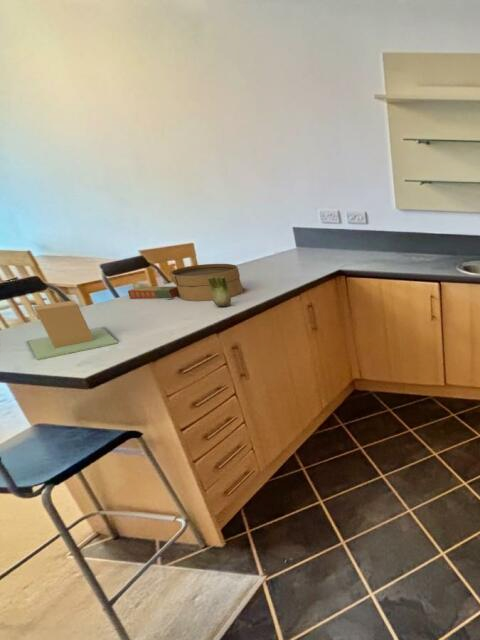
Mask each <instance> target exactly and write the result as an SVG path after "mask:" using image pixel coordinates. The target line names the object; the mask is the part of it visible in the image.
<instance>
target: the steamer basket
mask: <svg viewBox="0 0 480 640" xmlns="http://www.w3.org/2000/svg"><path fill="white" fill-rule="evenodd" d="M170 276H171V279H172V283H173V284H174V285H176V286H177V289H178V292H179V295H180V296H179V298H180V299H181V300H183V301H189V302H206V301H213V297H212V290H211V286H210V283H209V281H208V278H212V277H215V280H216V278H217V277H220V280H221V283H222V279H221V278H225V280H226V284H227V287H228V290H229V293H230V297H231V298H233V297H234V296H238V295H240V294H241V293H243V292H244V288H243V285H242V281H241V278H240V277H241V275H240V271H239V268H238V266H237V265H236V264H231V263H206V264H205V263H204V264H195V265H188V266H182V267H179V268H175V269H174V270H172V271H170ZM212 281H213V280H212ZM216 282H217V280H216ZM217 285H218V283H217ZM176 286H175V287H176ZM222 286H223V284H222ZM218 287H219V286H218Z"/></svg>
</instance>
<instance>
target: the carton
mask: <svg viewBox="0 0 480 640" xmlns="http://www.w3.org/2000/svg"><path fill="white" fill-rule="evenodd" d="M127 294H128V296H129V299H130V300H137V299H138V300H141V299H142V300H143V299H144V300H145V299H146V300H147V299H150V300H151V299H165V300H166V301H171V300H174V299H175V297H177V298H178V297H179V298H180V295H179V292H178V289H177V286H138V287H135V288H132V289H129V290H127Z"/></svg>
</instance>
